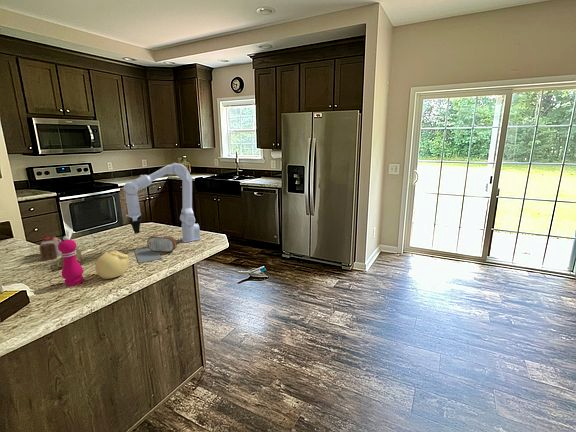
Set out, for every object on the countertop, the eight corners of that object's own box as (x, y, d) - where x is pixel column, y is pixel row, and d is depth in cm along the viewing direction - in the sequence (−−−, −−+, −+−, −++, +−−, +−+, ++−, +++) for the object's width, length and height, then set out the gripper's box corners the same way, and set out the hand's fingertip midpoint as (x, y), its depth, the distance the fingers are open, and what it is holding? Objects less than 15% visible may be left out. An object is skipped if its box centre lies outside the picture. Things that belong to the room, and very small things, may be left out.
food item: (45, 252, 158) (40, 234, 155) (63, 249, 162) (60, 232, 159) (40, 261, 147) (36, 242, 144) (61, 258, 151) (57, 239, 148)
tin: (177, 251, 158) (176, 235, 156) (174, 253, 155) (173, 237, 153) (150, 249, 159) (148, 234, 157) (146, 251, 156) (145, 235, 154)
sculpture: (135, 271, 134) (131, 248, 132) (111, 283, 123) (107, 258, 121) (115, 268, 138) (111, 245, 135) (91, 279, 127) (86, 255, 124)
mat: (155, 246, 165) (155, 246, 165) (162, 258, 148) (162, 258, 148) (134, 250, 159) (134, 250, 159) (138, 263, 143) (138, 262, 143)
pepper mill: (70, 279, 128) (61, 233, 123) (88, 278, 128) (80, 233, 123) (59, 287, 121) (49, 239, 116) (78, 286, 121) (69, 238, 116)
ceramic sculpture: (82, 239, 150) (82, 250, 138) (86, 255, 153) (85, 267, 141) (56, 243, 145) (53, 255, 133) (60, 260, 148) (57, 273, 136)
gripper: (124, 204, 160) (128, 228, 164) (124, 209, 148) (128, 236, 151) (139, 202, 163) (142, 226, 167) (140, 207, 151) (143, 233, 154)
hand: (136, 231), depth 159 cm, fingers open, 7 cm apart
